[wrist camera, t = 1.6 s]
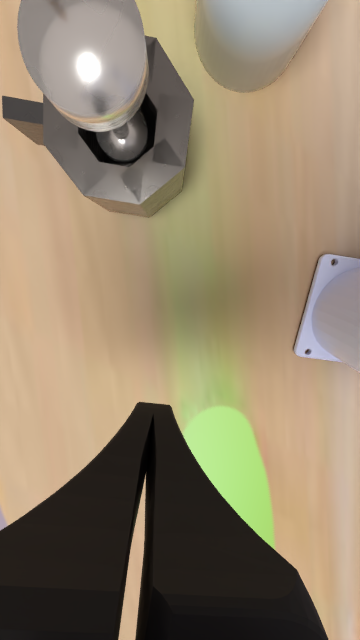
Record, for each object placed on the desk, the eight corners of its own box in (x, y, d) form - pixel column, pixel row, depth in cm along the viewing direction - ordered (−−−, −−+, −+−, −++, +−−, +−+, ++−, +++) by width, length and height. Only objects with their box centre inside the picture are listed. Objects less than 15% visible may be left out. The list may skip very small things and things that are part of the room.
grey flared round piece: (162, 101, 13) (151, -28, 7) (153, 179, 14) (138, 123, 8) (90, 88, 13) (16, -58, 7) (87, 168, 14) (18, 102, 8)
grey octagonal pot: (192, 109, 16) (201, 46, 11) (177, 221, 18) (178, 210, 13) (48, 83, 16) (-10, 4, 11) (47, 201, 18) (-4, 181, 12)
